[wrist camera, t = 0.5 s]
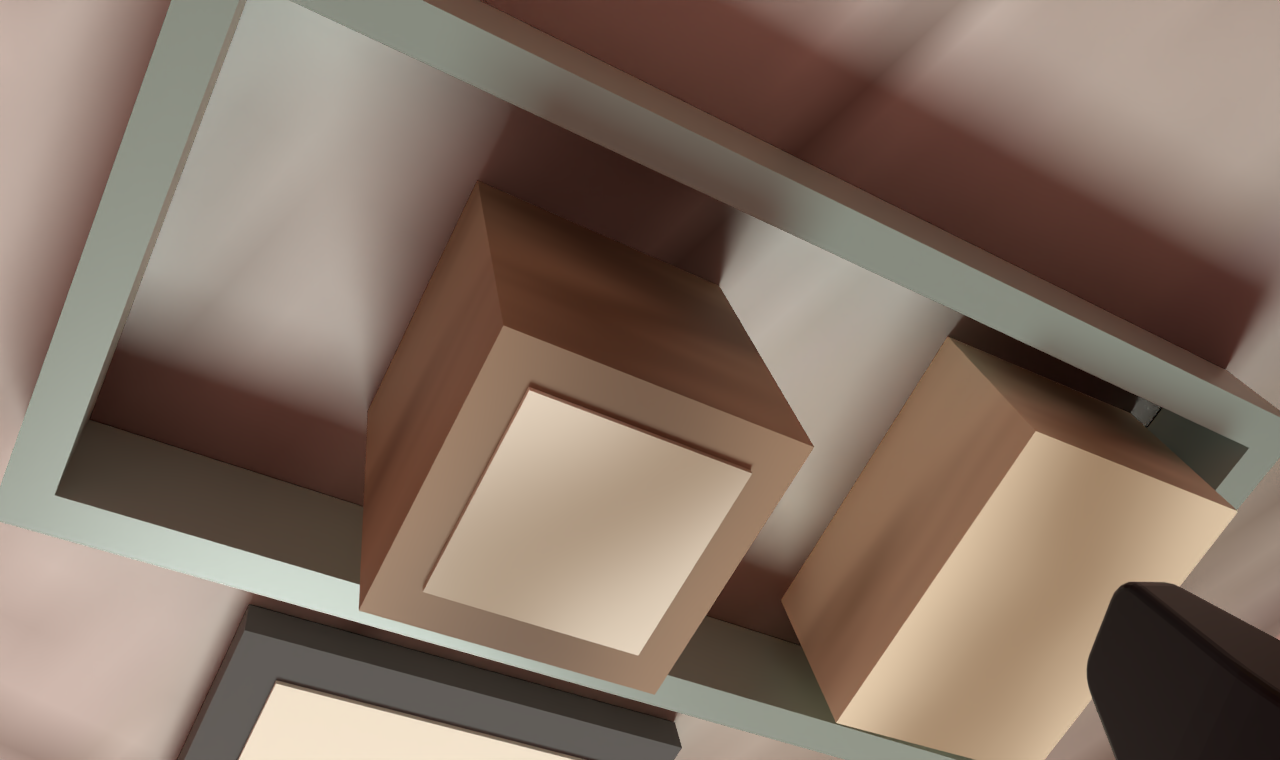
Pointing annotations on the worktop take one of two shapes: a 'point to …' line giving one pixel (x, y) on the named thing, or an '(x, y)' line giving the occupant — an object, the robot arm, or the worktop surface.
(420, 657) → the pad
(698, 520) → the walnut block
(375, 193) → the worktop surface
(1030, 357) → the worktop surface
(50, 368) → the parts bin
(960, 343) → the maple box
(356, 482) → the worktop surface
